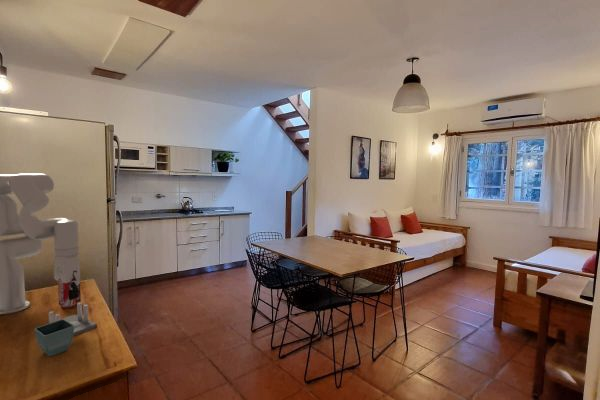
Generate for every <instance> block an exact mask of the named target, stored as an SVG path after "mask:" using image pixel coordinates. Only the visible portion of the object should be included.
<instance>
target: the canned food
mask: <svg viewBox="0 0 600 400" xmlns="http://www.w3.org/2000/svg"><path fill="white" fill-rule="evenodd" d="M81 297H82V296H81V283H80V284H79V288H78V302H77V303H80V302H81V301H82V299H81ZM77 303H76V304H75V305H72V306H68V307H62V306H61V305H59V306H60V308H61V309H65V310H66V309H67V310H68V309H74V308H77ZM81 303H82V302H81Z"/></svg>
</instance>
